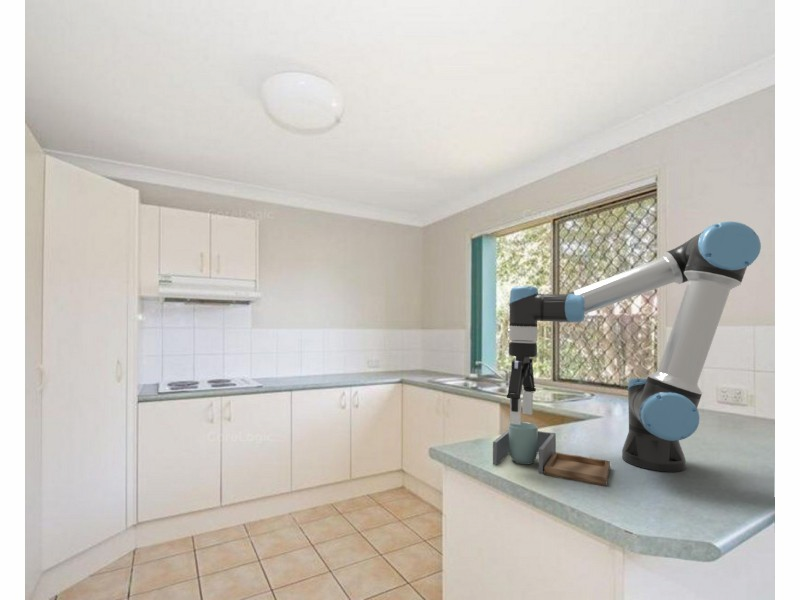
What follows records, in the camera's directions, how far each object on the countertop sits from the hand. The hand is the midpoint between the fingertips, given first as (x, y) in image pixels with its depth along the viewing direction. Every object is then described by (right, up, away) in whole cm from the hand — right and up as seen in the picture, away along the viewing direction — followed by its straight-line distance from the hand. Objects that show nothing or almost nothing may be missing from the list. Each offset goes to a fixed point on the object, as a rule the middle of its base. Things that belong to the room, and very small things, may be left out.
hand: (521, 418), depth 116 cm
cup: (0, -12, -1) cm, 12 cm away
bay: (+1, -12, +1) cm, 12 cm away
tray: (+12, -12, -8) cm, 19 cm away
